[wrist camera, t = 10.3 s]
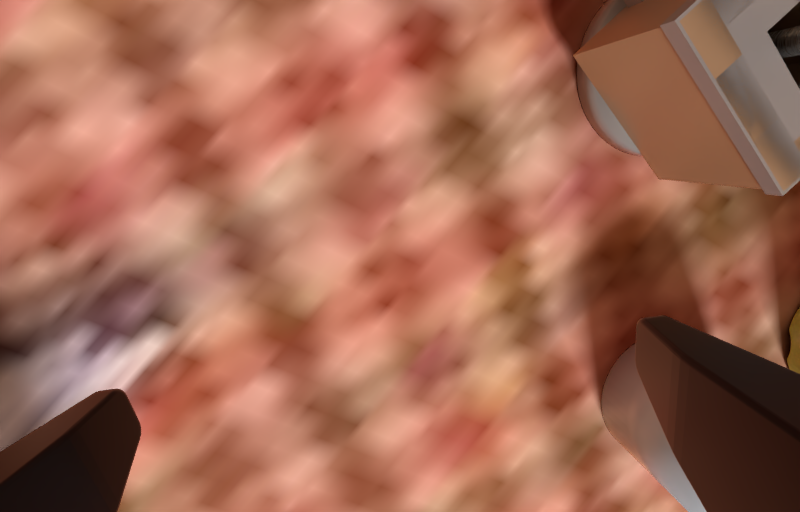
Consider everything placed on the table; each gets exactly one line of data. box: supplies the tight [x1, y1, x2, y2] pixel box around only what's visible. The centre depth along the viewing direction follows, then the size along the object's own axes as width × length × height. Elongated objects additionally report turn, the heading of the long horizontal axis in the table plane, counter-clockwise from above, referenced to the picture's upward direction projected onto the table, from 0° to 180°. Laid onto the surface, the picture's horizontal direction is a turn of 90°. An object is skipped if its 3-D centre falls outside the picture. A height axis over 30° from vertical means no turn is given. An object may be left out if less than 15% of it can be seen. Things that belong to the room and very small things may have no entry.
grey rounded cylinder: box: [601, 343, 706, 512], centre depth 21 cm, size 6×6×6 cm
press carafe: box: [573, 0, 800, 196], centre depth 18 cm, size 7×9×7 cm
